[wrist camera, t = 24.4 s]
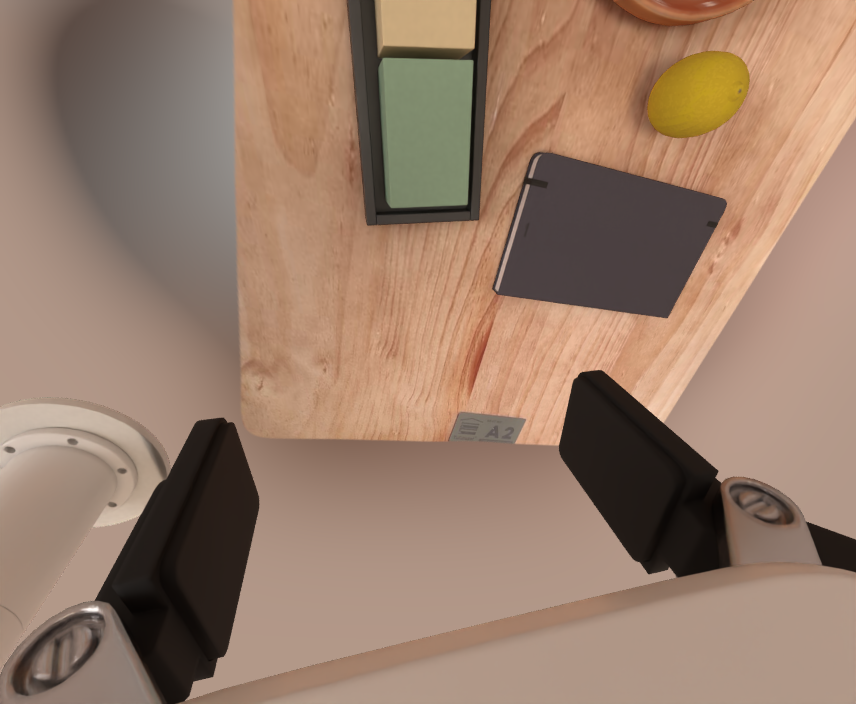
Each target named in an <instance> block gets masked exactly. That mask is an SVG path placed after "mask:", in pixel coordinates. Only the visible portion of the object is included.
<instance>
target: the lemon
mask: <svg viewBox="0 0 856 704" xmlns="http://www.w3.org/2000/svg"><path fill="white" fill-rule="evenodd" d="M749 81H750V79H749V72H748V69H747V66H746V64H745V63H744V62H743V60H742V59H741V58H739V57H738V56H736V55H734V54H732V53H729V52H721V51H706V52H701V53H697V54H694V55H690V56H688V57H686V58H684V59H682V60H680V61H679V62H677V63H675V64H674V65H672V66H671V67H670V68H669V69H668V70H666V71H665V72H664V73H663V74H662V75H661V77H660V78H659V79H658V81H657V82H656V83H655V85H654V87H653V89H652V91H651V93H650V96H649V100H648V106H647V110H648V117H649V120H650V123H651V124H652V126H653V127H654V128H655V129H656V130H657V131H658V132H660V133H661V134H663V135H665V136H669V137H674V138H687V137H694V136H699V135H702V134H705V133H707V132H710V131H712V130H714V129H716V128H718V127H720V126H721V125H723V124H724V123H725V122H727V121H728V120H729V119H730V118H731V117H732V116H733V115H734V114H735V113H736V112H737V111H738V109H739V108H740V106H741V105H742V103H743V101H744V99H745V97H746V95H747V92H748V88H749Z"/></svg>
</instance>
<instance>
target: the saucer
mask: <svg viewBox="0 0 856 704" xmlns="http://www.w3.org/2000/svg"><path fill="white" fill-rule="evenodd" d="M613 1H614V2H615V3H616V4H617V5H619V6H620V7H621V8H623V9H624V10H626V11H627V12H629V13H630V14H632V15H634V16H636V17H638V18H640V19H642V20H645V21H648V22H651V23H655V24H660V25H667V26H680V25H690V24H695V23H699V22H703V21H707V20H710V19H714V18H717V17H720V16H724V15H726V14H729V13H731V12H733V11H735V10H738V9H740V8H742V7H744V6H745V5H747V4H749V3H751V2H752V1H754V0H613Z"/></svg>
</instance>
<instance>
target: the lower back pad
mask: <svg viewBox="0 0 856 704" xmlns="http://www.w3.org/2000/svg"><path fill="white" fill-rule="evenodd" d="M378 85H379V101H380V118H381V134H382V151H383V167H384V184H385V200H386V202H387V203H388V205H389V206H390V207H391V208H408V207H432V206H457V205H468V184H469V159H470V134H471V109H472V85H473V60H451V59H416V58H383V59H382V61H381V63H380V65H379V67H378Z"/></svg>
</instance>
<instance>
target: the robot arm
mask: <svg viewBox="0 0 856 704" xmlns="http://www.w3.org/2000/svg"><path fill="white" fill-rule="evenodd" d="M559 452H560V455H561V458H562V459H563V461H564V462H565V464H566V465H567V466H568V468H569V469H570V471H571V472H572V473H573V475H574V476H575V478H576V479H577V481H578V482H579V483H580V485H581V486H582V488H583V489H584V490H585V492H586V493H587V495H588V496H589V498H590V499H591V500H592V502H593V503H594V505H595V506H596V508H597V509H598V510H599V512H600V513H601V515H602V516H603V517H604V519H605V520H606V522H607V523H608V525H609V526H610V527H611V529H612V530H613V532H614V533H615V534H616V536H617V538H618V539H619V540H620V542H621V543H622V545H623V546H624V547H625V549H626V550H627V552H628V553H629V555H630V556H631V557H632V558H633V559H634V560H635V561H637V562H640V563H641V564H642V566H643V567H644V569H645V570H646V571H647V573H648V574H652V573H657V572H661V571H665V570H668V568H669V567H670V568H671V569H672V571H673V572H674V573H675V574H676V578H674V579H670V580H665V581H661V582H657V583H652V584H648V585H644V586H639V587H635V588H631V589H627V590H622V591H618V592H614V593H610V594H605V595H601V596H597V597H593V598H588V599H584V600H580V601H576V602H571V603H567V604H563V605H559V606H554V607H550V608H546V609H542V610H538V611H534V612H529V613H525V614H521V615H517V616H513V617H509V618H504V619H500V620H496V621H492V622H488V623H484V624H479V625H476V626H471V627H467V628H463V629H459V630H455V631H450V632H446V633H442V634H438V635H434V636H430V637H426V638H422V639H418V640H413V641H410V642H406V643H401V644H398V645H393V646H389V647H385V648H381V649H377V650H373V651H369V652H365V653H361V654H357V655H353V656H348V657H344V658H340V659H337V660H332V661H328V662H324V663H320V664H316V665H312V666H308V667H304V668H300V669H297V670H293V671H289V672H286V673H282V674H278V675H274V676H270V677H267V678H263V679H259V680H256V681H251V682H248V683H244V684H240V685H237V686H233V687H229V688H225V689H222V690H219V691H215V692H212V693H209V694H206V695H203V696H200V697H197V698H193V699H190V700H187V701H185V700H186V699H187V698H188V697H189V695H190V692H191V688H192V684H193V681H198V680H202V679H206V678H210V677H213V675H214V671H215V667H216V662H217V659H218V658H220V657H224V655H225V654H226V652H227V649H228V645H229V640H230V636H231V632H232V627H233V623H234V618H235V614H236V609H237V605H238V600H239V596H240V591H241V587H242V582H243V578H244V573H245V569H246V565H247V560H248V556H249V551H250V547H251V542H252V537H253V533H254V528H255V524H256V520H257V515H258V511H259V496H258V492H257V489H256V486H255V483H254V480H253V477H252V474H251V471H250V468H249V466H248V462H247V460H246V457H245V453H244V451H243V448H242V445H241V442H240V439H239V436H238V433H237V430H236V427H235V424H234V423H232V422H230V423H227V421H226V420H225V419H224V418H216V419H207V420H201V421H197V422H196V423H195V425H194V427H193V429H192V431H191V432H190V434H189V436H188V439H187V440H186V442H185V444H184V446H183V448H182V450H181V452H180V454H179V456H178V458H177V460H176V461H175V463H174V465H173V467H172V469H171V471H170V473H169V475H168V477H167V479H166V480H163V481H161V482H160V483H159V484H158V485H157V487H156V488H155V489H154V491H153V493H152V495H151V497H150V499H149V501H148V502H147V504H146V506H145V508H144V510H143V512H142V514H141V515H140V517H139V519H138V521H137V523H136V525H135V527H134V529H133V530H132V532H131V534H130V536H129V538H128V540H127V542H126V544H125V545H124V547H123V549H122V551H121V553H120V555H119V556H118V558H117V560H116V562H115V564H114V566H113V568H112V569H111V571H110V573H109V575H108V577H107V579H106V581H105V582H104V584H103V586H102V588H101V590H100V592H99V594H98V596H97V597H96V599H95V601H90V602H83V603H80V604H78V605H75V606H72V607H69V608H67V609H65V610H63V611H62V612H60V613H58V614H57V615H55V616H53V617H51V618H50V619H48V620H47V621H46V622H44V623H43V624H42V625H40V626H39V627H38V628H37V629H35V630H34V631H33V632H32V633H31V634H30V635H29V636H28V637H27V638H26V639H25V640H24V641H23V642H22V643H21V644H20V645H19V646H18V647H17V648H16V650H15V651H14V652H13V654H12V655H11V657H10V658H9V660H8V661H7V662H6V660H7V658H8V657H9V655H10V654H11V652H12V651H13V649H14V648H15V646H16V644H17V643H18V641H19V640H20V638H21V637H22V635H23V633H24V632H25V631H26V629H27V628H28V626H29V625H30V623H31V621H32V620H33V618H34V617H35V615H36V614H37V612H38V611H39V609H40V607H41V606H42V604H43V603H44V601H45V600H46V598H47V597H48V595H49V594H50V592H51V590H52V589H53V587H54V586H55V584H56V583H57V581H58V579H59V578H60V577H61V575H62V573H63V572H64V570H65V569H66V567H67V566H68V564H69V563H70V561H71V560H72V558H73V557H74V555H75V553H76V552H77V550H78V549H79V547H80V546H81V544H82V543H83V541H84V539H85V538H86V536H87V535H88V533H89V532H90V530H91V529H92V527H93V526H94V524H95V522H96V521H97V519H98V518H99V516H100V515H103V514H105V513H108V512H111V511H113V510H115V509H117V508H118V507H120V506H121V505H123V504H124V503H125V502H126V501H127V500H128V499H129V497H130V496H131V494H132V493H133V491H134V489H135V487H136V485H137V478H138V476H137V470H136V468H135V465H134V463H133V461H132V460H131V459H130V458H129V456H128V455H127V454H126V453H125V452H124V451H123V450H121V449H120V448H119V447H118V446H116V445H114V444H113V443H111V442H110V441H108V440H106V439H104V438H101V437H99V436H97V435H94V434H91V433H88V432H84V431H80V430H74V429H69V428H39V429H33V430H28V431H25V432H22V433H19V434H17V435H14V436H13V437H11V438H9V439H8V440H6V441H5V442H4V443H3V444H2V445H1V446H0V669H1V668H2V666H3V665H4V663H5V662H6V664H5V665H4V668H3V670H2V672H1V674H0V704H856V540H855V539H852V538H850V537H847V536H844V535H842V534H839V533H836V532H833V531H830V530H828V529H825V528H822V527H820V526H817V525H814V524H811V523H809V522H806V521H805V518H804V516H803V514H802V512H801V510H800V509H799V507H798V506H797V505H796V504H795V503H794V502H793V501H792V500H791V499H790V498H789V497H787V496H786V495H784V494H783V493H781V492H780V491H779V490H777V489H775V488H773V487H771V486H770V485H768V484H765V483H763V482H760V481H758V480H755V479H750V478H746V477H731V478H728V479H725V480H724V481H723V482H722V483H721V482H719V481H718V480H717V479H716V478H715V477H716V475H717V473H718V470H717V469H715V468H714V467H713V466H712V465H711V464H710V463H708V462H707V461H706V460H705V459H704V458H703V457H702V456H701V455H699V454H698V453H697V452H696V451H695V450H694V449H692V448H691V447H690V446H689V445H688V444H687V443H686V442H684V441H683V440H682V439H681V438H680V437H679V436H677V435H676V434H675V433H674V432H673V431H672V430H671V429H669V428H668V427H667V426H666V425H665V424H664V423H662V422H661V421H660V420H659V419H658V418H657V417H656V416H654V415H653V414H652V413H651V412H650V411H649V410H647V409H646V408H645V407H644V406H643V405H642V404H641V403H639V402H638V401H637V400H636V399H635V398H634V397H632V396H631V395H630V394H629V393H628V392H627V391H626V390H624V389H623V388H622V387H621V386H620V385H619V384H617V383H616V382H615V381H614V380H613V379H612V378H611V377H609V376H608V375H607V374H606V373H605V372H603V371H602V370H596V371H588V372H582V373H580V374H579V375H578V378H575V379H574V381H573V384H572V389H571V394H570V398H569V403H568V407H567V412H566V417H565V421H564V426H563V430H562V435H561V440H560V444H559Z"/></svg>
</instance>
